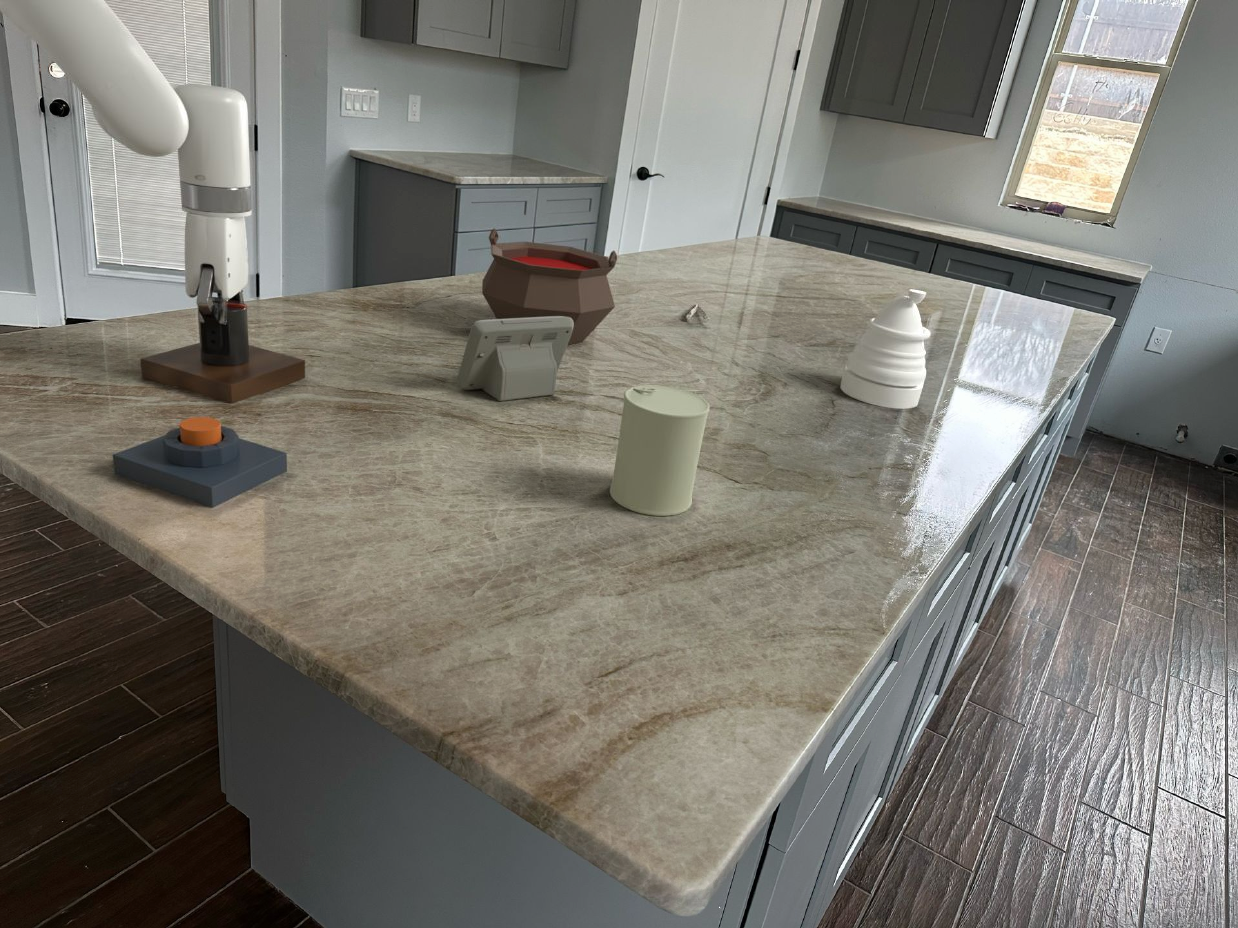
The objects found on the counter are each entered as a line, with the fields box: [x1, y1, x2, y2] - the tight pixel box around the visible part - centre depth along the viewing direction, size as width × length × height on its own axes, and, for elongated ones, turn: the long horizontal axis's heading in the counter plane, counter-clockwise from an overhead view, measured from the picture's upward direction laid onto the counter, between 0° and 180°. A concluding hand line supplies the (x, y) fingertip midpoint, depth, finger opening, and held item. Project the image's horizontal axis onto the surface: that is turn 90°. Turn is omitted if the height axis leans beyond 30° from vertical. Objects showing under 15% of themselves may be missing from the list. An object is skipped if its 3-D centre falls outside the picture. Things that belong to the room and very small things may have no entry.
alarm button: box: [179, 416, 222, 446], centre depth 83 cm, size 4×4×2 cm
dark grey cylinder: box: [196, 300, 250, 366], centre depth 107 cm, size 6×6×7 cm
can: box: [609, 384, 710, 517], centre depth 92 cm, size 9×9×12 cm
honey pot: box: [839, 289, 931, 410], centre depth 138 cm, size 13×13×18 cm
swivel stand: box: [139, 342, 306, 405], centre depth 109 cm, size 14×13×2 cm
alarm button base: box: [112, 425, 288, 509], centre depth 84 cm, size 12×10×4 cm
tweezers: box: [685, 302, 710, 326], centre depth 177 cm, size 17×5×2 cm, turn 175°
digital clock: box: [456, 316, 574, 402], centre depth 118 cm, size 16×9×11 cm, turn 116°
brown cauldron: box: [481, 227, 618, 346], centre depth 145 cm, size 24×24×16 cm
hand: (224, 344), depth 107 cm, fingers closed on dark grey cylinder, 5 cm apart
